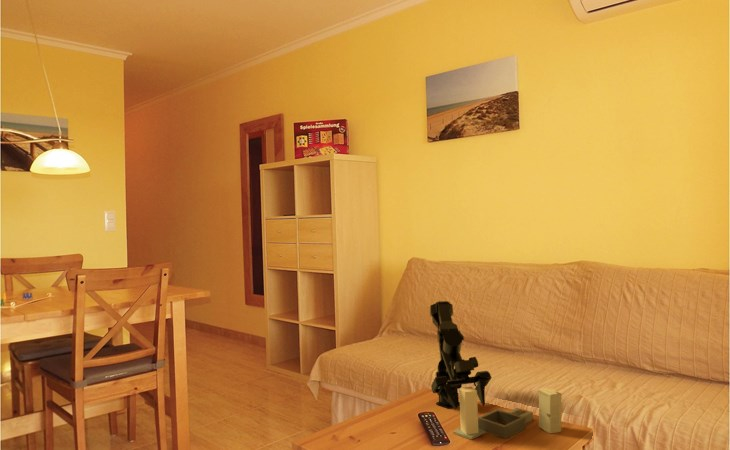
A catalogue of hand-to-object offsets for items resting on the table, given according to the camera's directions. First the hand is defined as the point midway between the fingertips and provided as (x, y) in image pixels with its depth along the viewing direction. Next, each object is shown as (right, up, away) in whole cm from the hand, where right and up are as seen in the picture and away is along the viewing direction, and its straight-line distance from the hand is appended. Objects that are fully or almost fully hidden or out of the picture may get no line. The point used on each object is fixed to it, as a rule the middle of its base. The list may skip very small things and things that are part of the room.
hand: (470, 407), depth 167 cm
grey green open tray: (+13, -8, +6) cm, 17 cm away
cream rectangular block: (0, -8, +1) cm, 8 cm away
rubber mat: (0, -9, +1) cm, 9 cm away
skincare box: (+25, -8, +2) cm, 26 cm away
